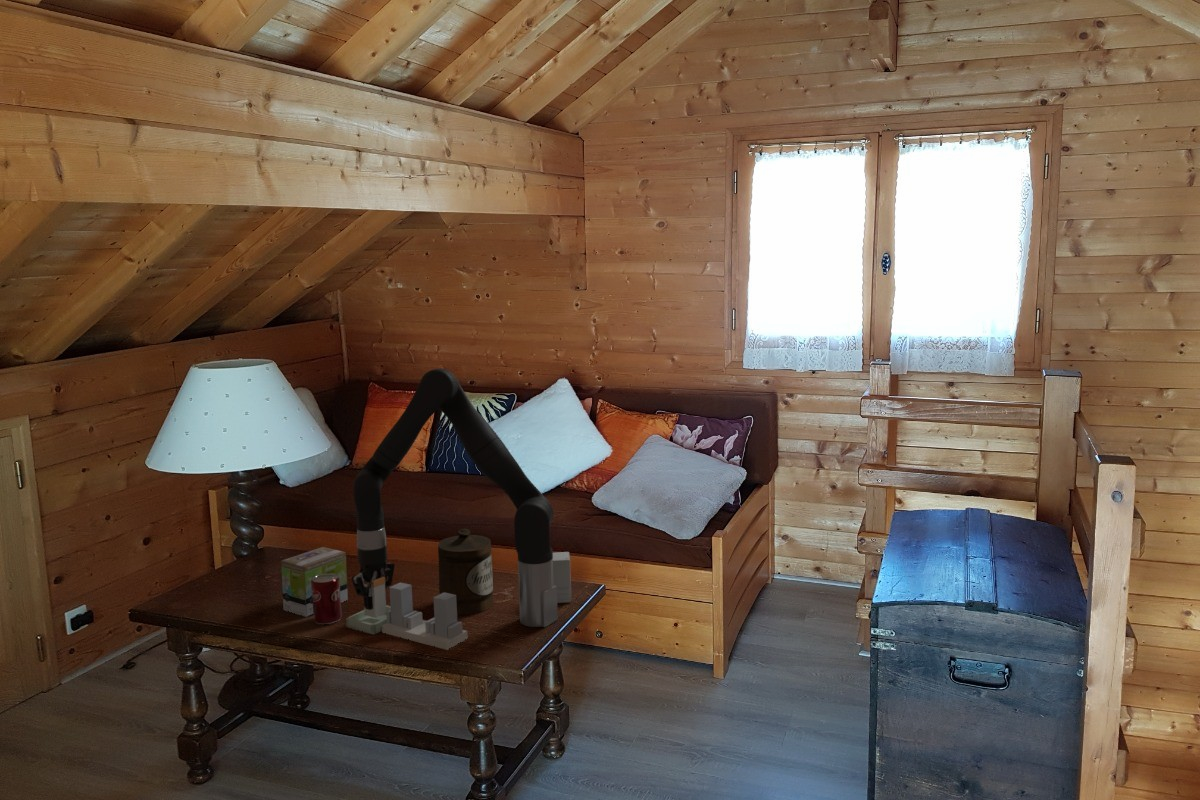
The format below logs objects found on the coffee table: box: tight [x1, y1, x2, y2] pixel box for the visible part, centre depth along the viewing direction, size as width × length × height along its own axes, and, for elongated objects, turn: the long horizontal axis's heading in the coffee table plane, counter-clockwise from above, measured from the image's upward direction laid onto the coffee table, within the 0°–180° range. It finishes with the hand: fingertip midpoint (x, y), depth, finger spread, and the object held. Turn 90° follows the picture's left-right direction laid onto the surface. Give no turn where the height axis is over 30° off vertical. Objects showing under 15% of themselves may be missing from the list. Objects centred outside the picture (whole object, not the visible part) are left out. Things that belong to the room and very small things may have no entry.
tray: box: [345, 604, 391, 635], centre depth 249 cm, size 10×12×2 cm
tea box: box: [280, 546, 349, 618], centre depth 261 cm, size 15×10×15 cm, turn 147°
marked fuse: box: [363, 577, 387, 618], centre depth 248 cm, size 4×4×10 cm
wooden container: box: [437, 528, 494, 615], centre depth 259 cm, size 15×15×22 cm
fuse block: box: [381, 582, 469, 651], centre depth 239 cm, size 22×8×12 cm, turn 59°
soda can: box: [311, 574, 343, 625], centre depth 251 cm, size 7×7×12 cm
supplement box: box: [553, 551, 572, 604], centre depth 263 cm, size 7×7×13 cm
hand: (375, 605), depth 248 cm, fingers closed on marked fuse, 4 cm apart
